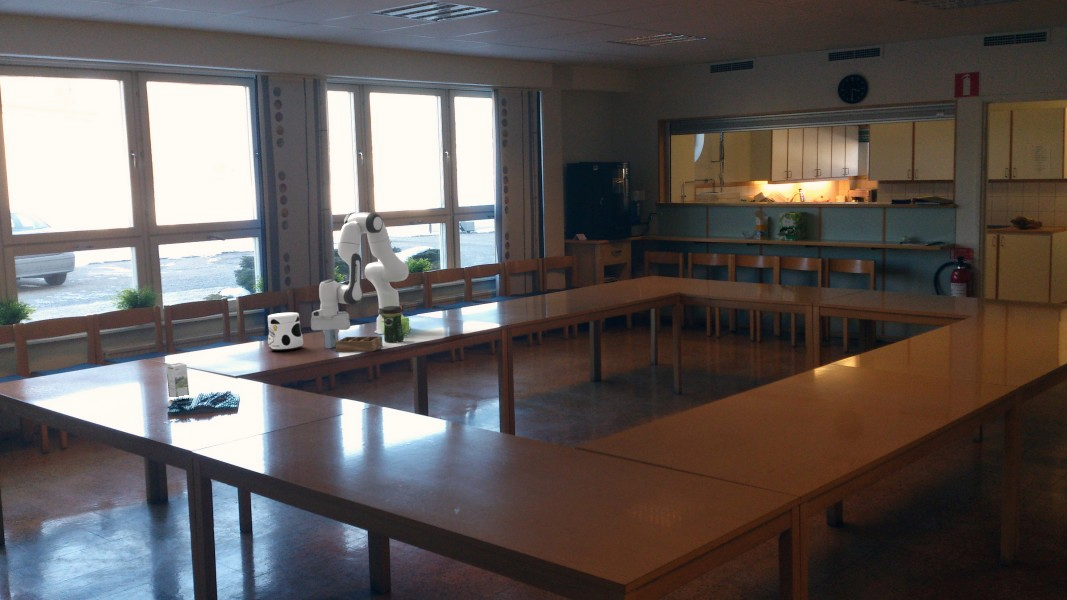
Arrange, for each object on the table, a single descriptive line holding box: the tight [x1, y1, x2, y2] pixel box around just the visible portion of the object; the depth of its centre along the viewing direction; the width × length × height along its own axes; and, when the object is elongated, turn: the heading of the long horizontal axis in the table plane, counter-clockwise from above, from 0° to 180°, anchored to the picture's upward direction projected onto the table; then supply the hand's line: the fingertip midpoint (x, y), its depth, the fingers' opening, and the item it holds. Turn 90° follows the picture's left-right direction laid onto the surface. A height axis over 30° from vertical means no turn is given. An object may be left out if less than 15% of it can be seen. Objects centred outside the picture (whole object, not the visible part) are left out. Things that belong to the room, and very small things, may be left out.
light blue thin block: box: [323, 330, 340, 349], centre depth 485 cm, size 10×3×9 cm, turn 168°
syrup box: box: [165, 362, 190, 398], centre depth 379 cm, size 6×6×14 cm
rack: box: [335, 335, 383, 353], centre depth 474 cm, size 14×19×5 cm
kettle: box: [382, 316, 411, 337], centre depth 507 cm, size 15×14×11 cm
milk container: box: [267, 312, 304, 352], centre depth 482 cm, size 17×17×18 cm
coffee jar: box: [382, 305, 405, 343], centre depth 490 cm, size 10×8×19 cm
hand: (331, 338), depth 485 cm, fingers closed on light blue thin block, 3 cm apart
